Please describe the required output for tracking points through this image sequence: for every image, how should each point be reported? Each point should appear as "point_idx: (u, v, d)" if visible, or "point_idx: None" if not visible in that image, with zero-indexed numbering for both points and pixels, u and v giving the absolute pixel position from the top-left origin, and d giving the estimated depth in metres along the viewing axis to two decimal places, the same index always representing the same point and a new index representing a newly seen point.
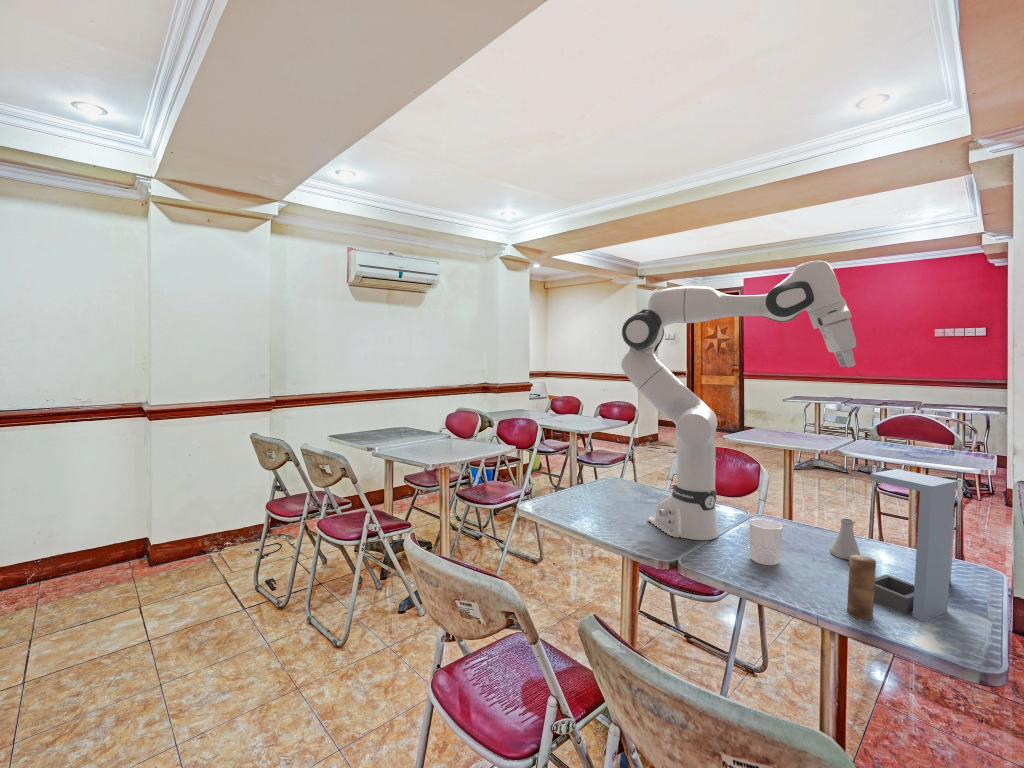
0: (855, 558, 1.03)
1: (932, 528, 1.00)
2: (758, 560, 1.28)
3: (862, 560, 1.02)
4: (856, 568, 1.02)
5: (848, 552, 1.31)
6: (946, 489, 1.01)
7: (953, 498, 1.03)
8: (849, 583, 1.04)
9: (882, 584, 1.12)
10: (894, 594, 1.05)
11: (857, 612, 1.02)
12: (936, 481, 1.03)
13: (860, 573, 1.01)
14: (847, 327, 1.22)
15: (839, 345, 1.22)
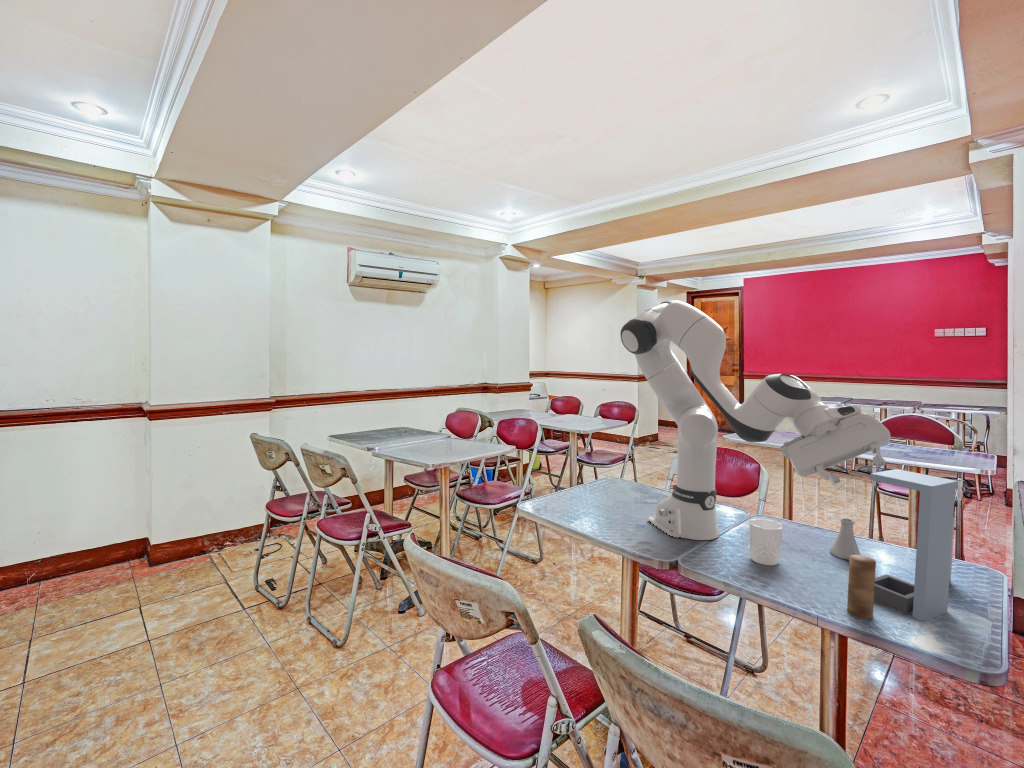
0: (855, 558, 1.03)
1: (932, 528, 1.00)
2: (758, 560, 1.28)
3: (862, 560, 1.02)
4: (856, 568, 1.02)
5: (848, 552, 1.31)
6: (946, 489, 1.01)
7: (953, 498, 1.03)
8: (849, 583, 1.04)
9: (882, 584, 1.12)
10: (894, 594, 1.05)
11: (857, 612, 1.02)
12: (936, 481, 1.03)
13: (860, 573, 1.01)
14: None
15: (887, 429, 1.06)
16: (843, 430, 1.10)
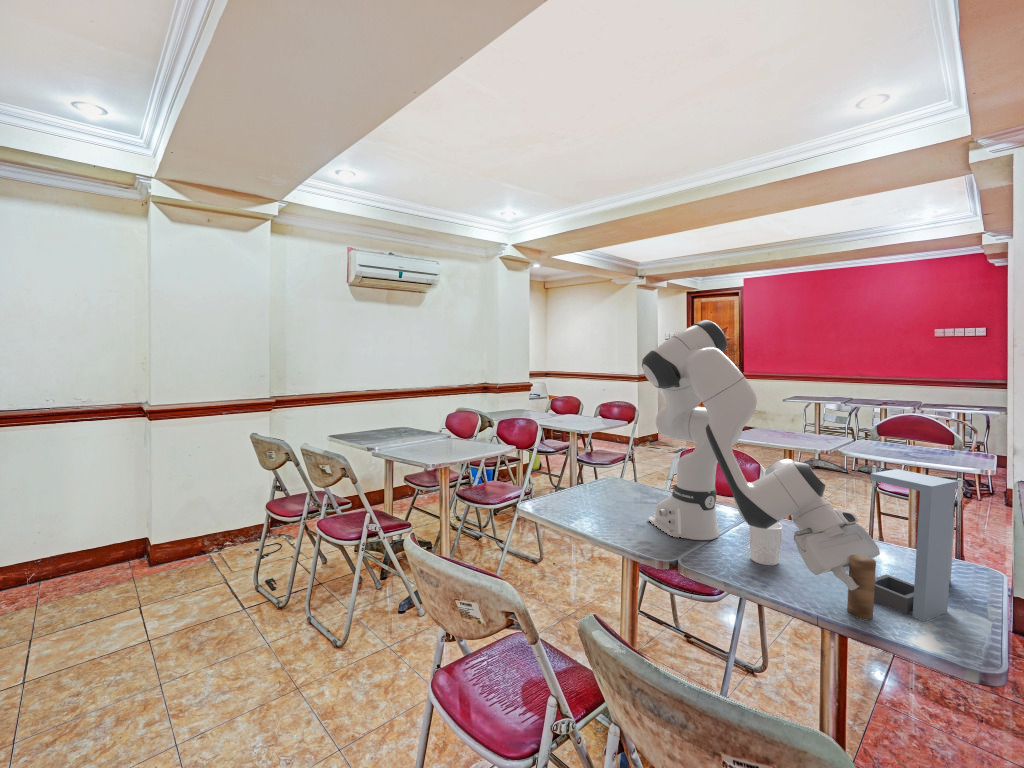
0: (855, 558, 1.03)
1: (932, 528, 1.00)
2: (758, 560, 1.28)
3: (863, 560, 1.02)
4: (856, 568, 1.02)
5: None
6: (946, 489, 1.01)
7: (953, 498, 1.03)
8: None
9: (882, 584, 1.12)
10: (894, 594, 1.05)
11: (857, 612, 1.02)
12: (936, 481, 1.03)
13: (860, 573, 1.01)
14: None
15: None
16: (846, 536, 1.09)
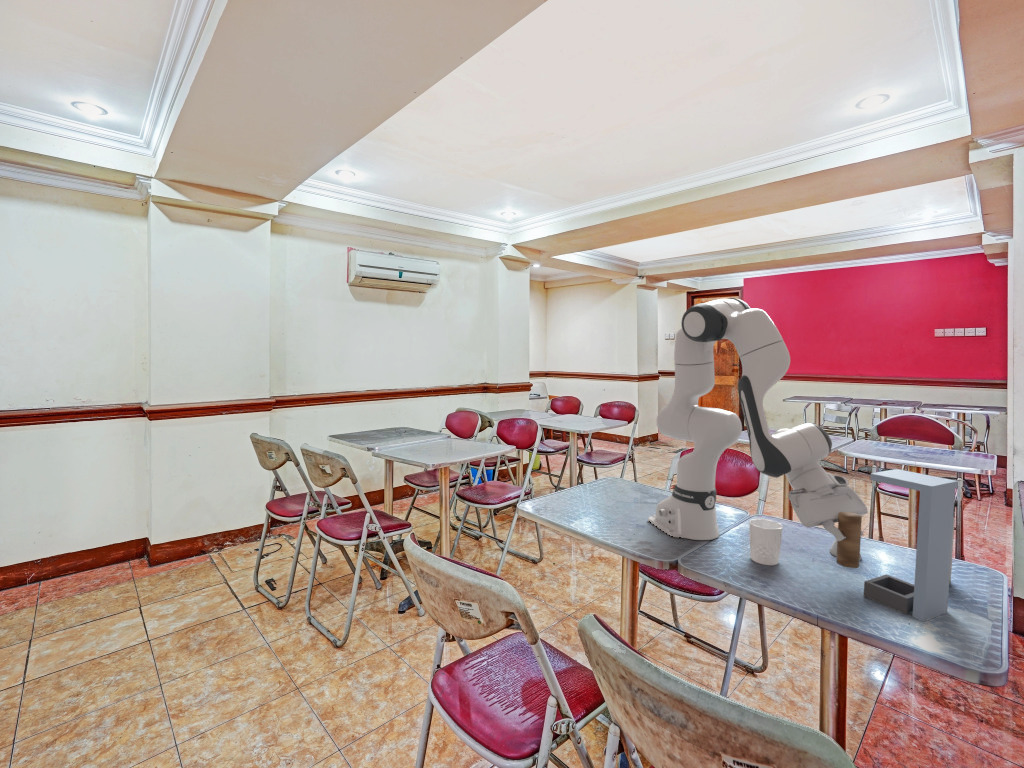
0: (843, 514, 1.16)
1: (932, 528, 1.00)
2: (758, 560, 1.28)
3: (850, 515, 1.15)
4: (844, 522, 1.15)
5: None
6: (946, 489, 1.01)
7: (953, 498, 1.03)
8: None
9: (882, 584, 1.12)
10: (894, 594, 1.05)
11: (844, 561, 1.15)
12: (936, 481, 1.03)
13: (847, 527, 1.14)
14: None
15: None
16: (836, 496, 1.22)
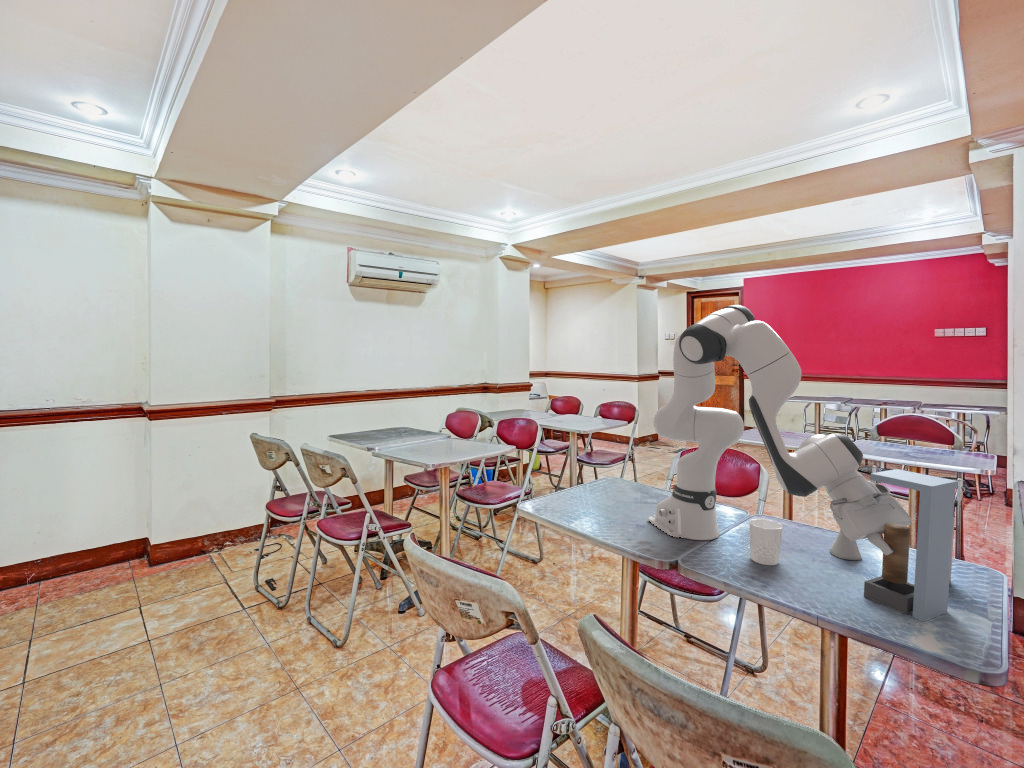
0: (889, 525, 1.09)
1: (932, 528, 1.00)
2: (758, 560, 1.28)
3: (897, 527, 1.08)
4: (891, 534, 1.07)
5: (848, 552, 1.31)
6: (946, 489, 1.01)
7: (953, 498, 1.03)
8: None
9: (882, 584, 1.12)
10: (894, 594, 1.05)
11: (892, 577, 1.07)
12: (936, 481, 1.03)
13: (895, 540, 1.07)
14: None
15: None
16: (879, 506, 1.14)
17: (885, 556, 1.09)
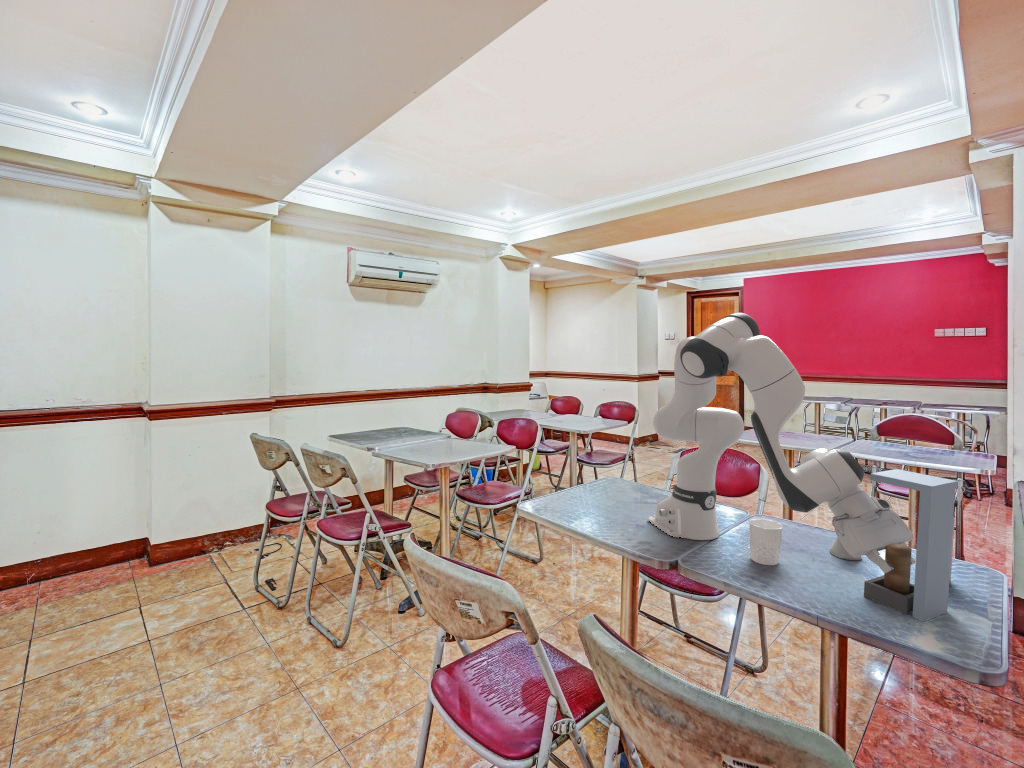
0: (891, 546, 1.09)
1: (932, 528, 1.00)
2: (758, 560, 1.28)
3: (899, 548, 1.08)
4: (893, 555, 1.07)
5: None
6: (946, 489, 1.01)
7: (953, 498, 1.03)
8: None
9: (882, 584, 1.12)
10: (894, 594, 1.05)
11: None
12: (936, 481, 1.03)
13: (897, 560, 1.07)
14: None
15: None
16: (881, 521, 1.14)
17: (886, 576, 1.09)
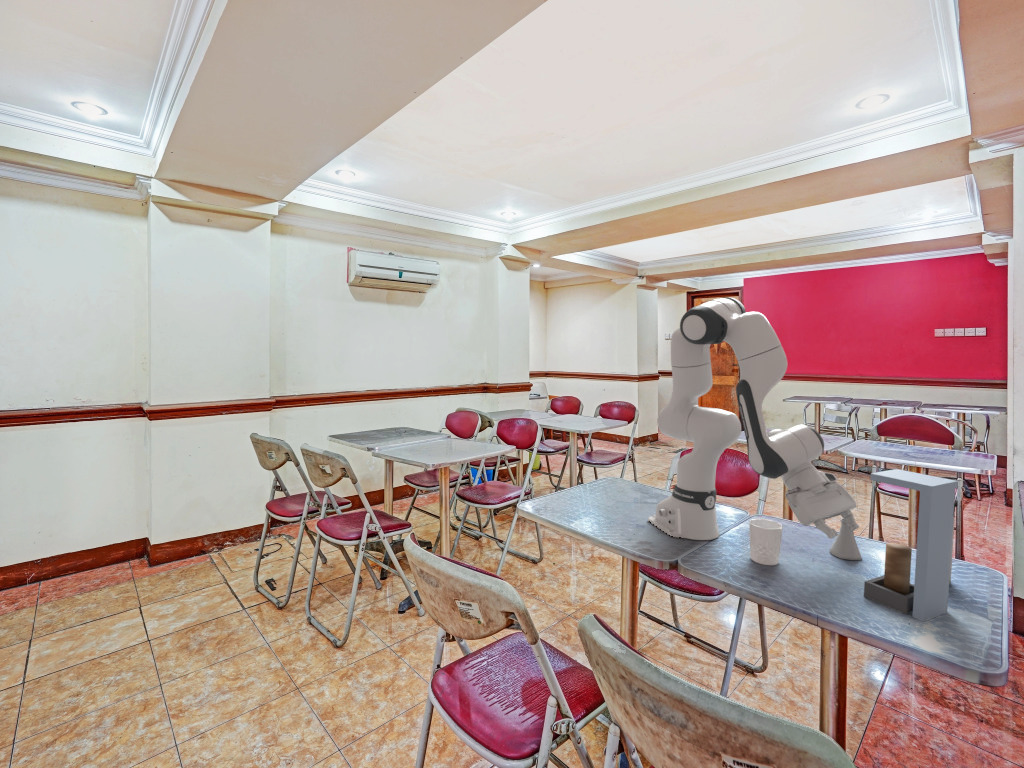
0: (891, 546, 1.09)
1: (932, 528, 1.00)
2: (758, 560, 1.28)
3: (899, 547, 1.08)
4: (893, 555, 1.07)
5: (848, 552, 1.31)
6: (946, 489, 1.01)
7: (953, 498, 1.03)
8: (885, 569, 1.09)
9: (882, 584, 1.12)
10: (894, 594, 1.05)
11: None
12: (936, 481, 1.03)
13: (897, 560, 1.07)
14: None
15: None
16: (828, 493, 1.27)
17: (887, 576, 1.09)
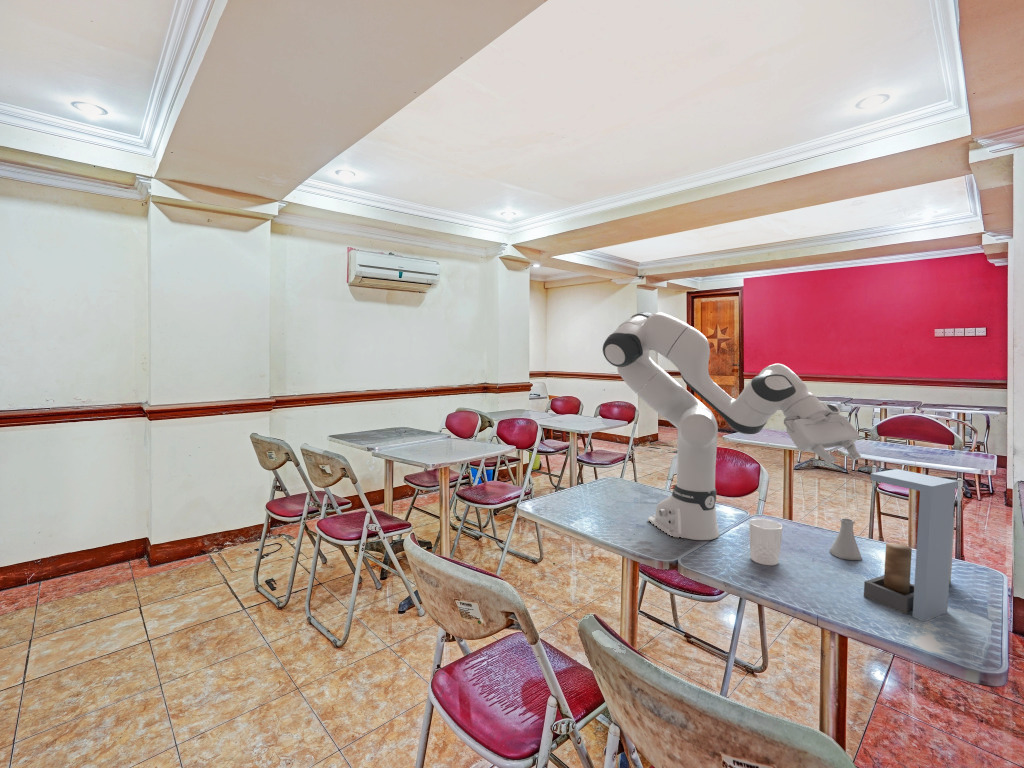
0: (891, 546, 1.09)
1: (932, 528, 1.00)
2: (758, 560, 1.28)
3: (899, 547, 1.08)
4: (893, 555, 1.07)
5: (848, 552, 1.31)
6: (946, 489, 1.01)
7: (953, 498, 1.03)
8: (885, 569, 1.09)
9: (882, 584, 1.12)
10: (894, 594, 1.05)
11: None
12: (936, 481, 1.03)
13: (897, 560, 1.07)
14: None
15: None
16: (829, 423, 1.24)
17: (887, 576, 1.09)
